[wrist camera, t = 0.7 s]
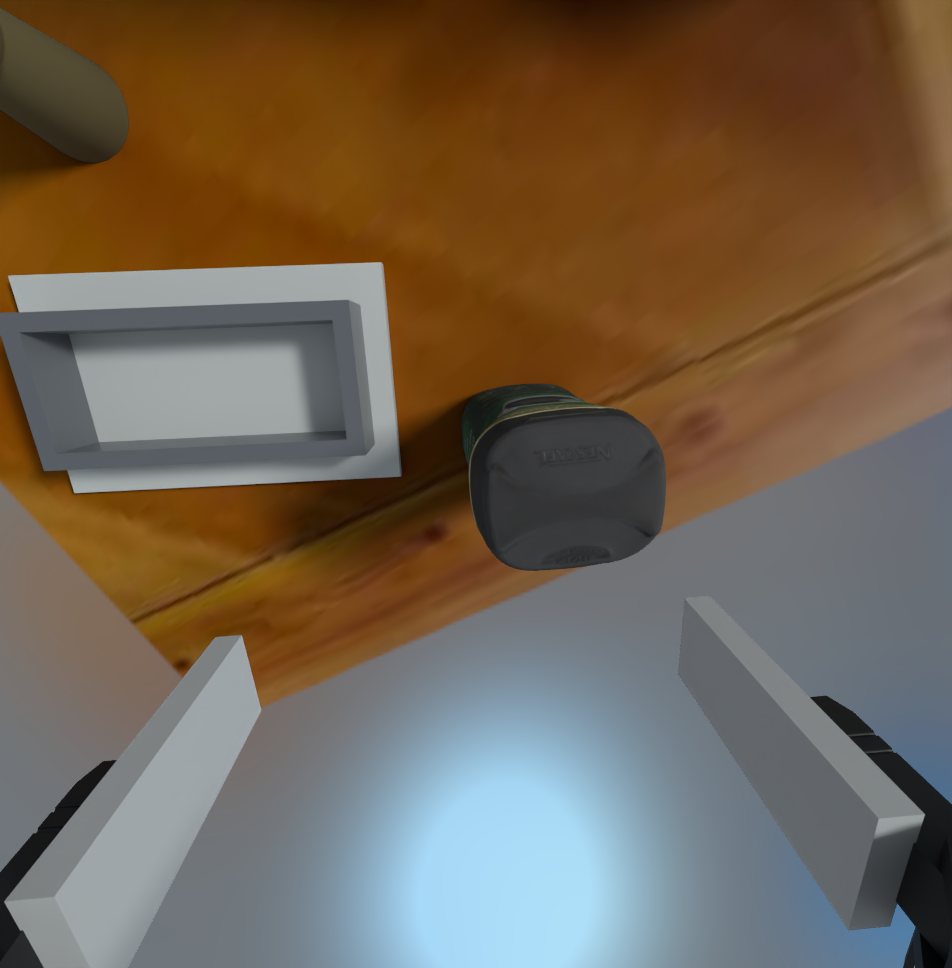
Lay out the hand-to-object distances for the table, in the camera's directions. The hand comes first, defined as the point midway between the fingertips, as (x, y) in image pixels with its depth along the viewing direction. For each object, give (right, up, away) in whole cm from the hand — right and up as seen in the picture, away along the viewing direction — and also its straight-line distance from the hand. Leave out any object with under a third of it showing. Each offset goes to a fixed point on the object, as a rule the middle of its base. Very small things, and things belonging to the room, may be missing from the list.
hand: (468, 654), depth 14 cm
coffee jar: (+4, +9, +25) cm, 27 cm away
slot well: (-19, +13, +22) cm, 32 cm away
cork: (-26, +30, +17) cm, 43 cm away
